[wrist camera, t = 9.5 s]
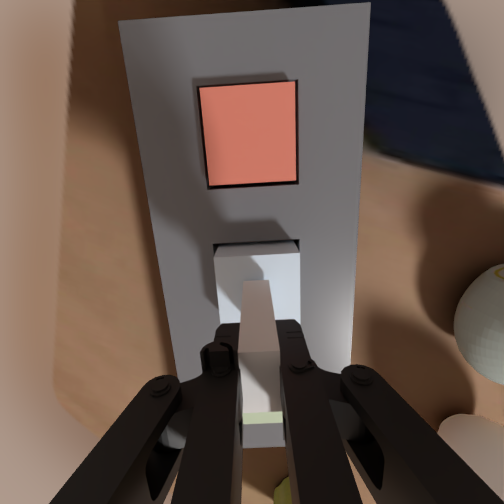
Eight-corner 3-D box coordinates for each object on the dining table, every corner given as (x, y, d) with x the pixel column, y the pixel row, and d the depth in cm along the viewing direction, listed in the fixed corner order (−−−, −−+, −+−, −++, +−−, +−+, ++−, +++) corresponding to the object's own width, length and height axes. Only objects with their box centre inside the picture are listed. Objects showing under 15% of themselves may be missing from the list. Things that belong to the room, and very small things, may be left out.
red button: (208, 100, 17) (199, 87, 15) (287, 95, 17) (294, 81, 14) (216, 182, 19) (209, 185, 16) (289, 178, 19) (296, 180, 16)
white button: (219, 243, 19) (213, 257, 16) (292, 239, 19) (299, 252, 16) (225, 309, 20) (221, 332, 18) (293, 305, 20) (300, 328, 17)
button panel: (146, 51, 18) (117, 20, 14) (345, 37, 18) (370, 2, 14) (198, 410, 27) (190, 450, 23) (332, 404, 27) (345, 444, 23)
